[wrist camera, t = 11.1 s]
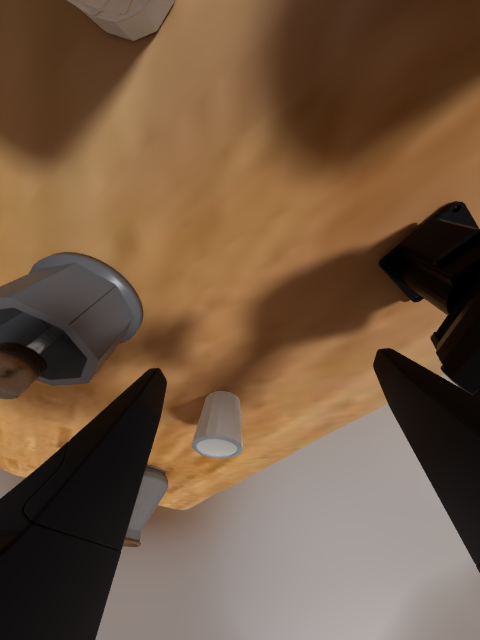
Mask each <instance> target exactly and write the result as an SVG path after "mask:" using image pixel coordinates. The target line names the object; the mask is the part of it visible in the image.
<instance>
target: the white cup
mask: <svg viewBox="0 0 480 640" xmlns="http://www.w3.org/2000/svg"><path fill="white" fill-rule="evenodd" d="M67 1H68V2H70V3H71V4H73V5H75V6H76V7H78V8H79V9H80V10H81V11H83V12H84V13H85V14H86V15H87V16H88V17H89V18H91V19H92V20H93V21H94V22H95V23H96V24H97V25H98V26H100V27H101V28H102V29H103V30H104V31H105V32H107V33H110V34H113V35H116V36H119V37H122V38H125V39H128V40H131V41H135V40H138V39H140V38H142V37H145V36H147V35H149V34H152V33H154V32H156V31H158V29H159V27H160V26H161V24H162V22H163V20H164V19H165V17H166V15H167V14H168V12H169V10H170V9H171V7H172V5H173V4H174V2H175V0H67Z"/></svg>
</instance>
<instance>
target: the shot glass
mask: <svg viewBox="0 0 480 640" xmlns="http://www.w3.org/2000/svg"><path fill="white" fill-rule="evenodd" d="M192 448H193V449H194V450H195V451H196V452H198V453H199V454H201V455H204V456H207V457H212V458H230V457H234V456H237V455H238V454H240V453H241V451H242V449H243V445H242V426H241V408H240V400H239V398H238V397H237V396H236V395H235V394H233V393H231V392H227V391H215V392H212V393H209V394H208V395H207V396H206V399H205V402H204V406H203V409H202V412H201V416H200V419H199V422H198V425H197V429H196V432H195V435H194V439H193V442H192Z"/></svg>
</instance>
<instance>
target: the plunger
mask: <svg viewBox="0 0 480 640" xmlns="http://www.w3.org/2000/svg"><path fill="white" fill-rule="evenodd" d="M40 320H41V319H40ZM41 321H42V322H43V324H44V325H45V326H47V327H48V328H49V330H47V331H46V332H45V333H43V334H42V335H41V336H39V337H38V338H37V339H35V340H34V341H33V342H32V343H30V344H29V345H28V346H25V345H22V344H19V343H15V342H2V343H0V398H2V399H14V398H17V397H18V396H20V395H21V394H22V393H23V392H24V391H25V390H26V389H27V388H28V387H29V386H30V385H31V384H32V383H33V382H34V381H35V380H36V379H37V378H38V377H39V376H40V375H41V374H43V373H44V372H45V371H46V370H47V368H48V365H47V362H46V360H45V359H44V358H43V357H42V356H41V355H40V353H41V352H42V351H43V350H45V349H46V348H47V347H48V346H49V345H51V344H52V343H53V342H54V341H55V340H56V339H58V338H59V337H60V336H61V337H63V338H65V339H67V340H70V341H72V340H71V339H70V337H69V336H68V335H67V334H66V333H65V331H64V330H63V329H61V328H59V327H57V326H54V325H52V324H50V323H48V322H45V321H43V320H41ZM72 342H73V341H72Z"/></svg>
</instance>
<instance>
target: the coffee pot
mask: <svg viewBox="0 0 480 640" xmlns="http://www.w3.org/2000/svg"><path fill="white" fill-rule="evenodd" d="M167 489H168V480H167V477H166V476H165V475H164V471H163V470H162V469H160V468H157V467H154V466H150V465H147V466H146V469H145V472H144V476H143V479H142V482H141V486H140V489H139V493H138V496H137V499H136V503H135V506H134V510H133V513H132V516H131V520H130V523H129V526H128V530H127V533H126V537H125V540H124V543H123V546H128V547H138V546H140V545H141V543H140V534H141V531H142V529H143V528H144V526H145V524H146V523H147V521H148V520H149V518H150V516H151V515H152V513H153V512H154V510H155V508H156V507H157V505H158V504H159V502H160V500H161V499H162V497H163V496H164V494H165V492H166V491H167Z"/></svg>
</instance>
